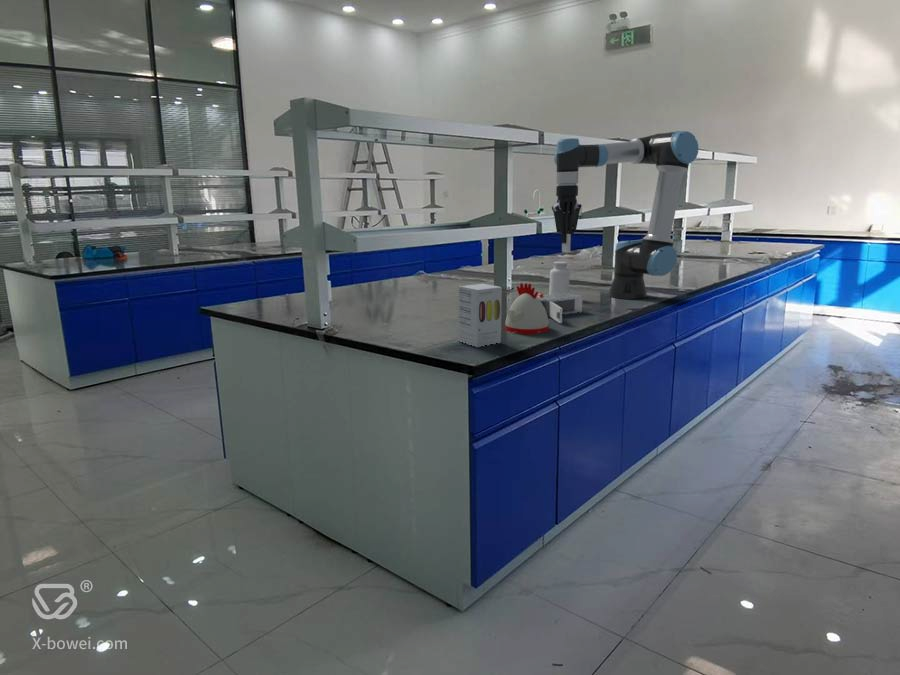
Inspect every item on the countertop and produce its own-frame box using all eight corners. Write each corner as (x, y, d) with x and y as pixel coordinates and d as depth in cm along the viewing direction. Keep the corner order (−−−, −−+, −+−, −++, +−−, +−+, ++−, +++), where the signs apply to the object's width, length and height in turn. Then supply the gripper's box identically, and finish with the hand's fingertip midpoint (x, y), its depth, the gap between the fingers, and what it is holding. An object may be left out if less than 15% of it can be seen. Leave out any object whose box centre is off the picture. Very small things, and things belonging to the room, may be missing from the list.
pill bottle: (568, 300, 243) (570, 263, 240) (548, 300, 245) (549, 263, 241) (569, 297, 251) (570, 261, 247) (549, 296, 252) (550, 260, 249)
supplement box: (476, 348, 173) (476, 289, 169) (457, 341, 180) (457, 285, 176) (502, 343, 179) (502, 286, 174) (482, 337, 186) (482, 282, 182)
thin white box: (562, 323, 202) (563, 307, 200) (557, 323, 201) (558, 308, 200) (551, 316, 214) (552, 301, 212) (547, 316, 214) (547, 301, 212)
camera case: (564, 307, 229) (565, 290, 228) (582, 312, 221) (582, 294, 219) (523, 312, 221) (524, 294, 219) (540, 317, 212) (541, 298, 211)
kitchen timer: (524, 322, 205) (525, 278, 201) (557, 329, 195) (558, 283, 192) (496, 329, 196) (496, 283, 192) (529, 336, 186) (530, 288, 182)
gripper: (572, 184, 219) (571, 249, 225) (546, 185, 211) (545, 253, 217) (588, 184, 213) (586, 251, 219) (561, 185, 206) (560, 254, 211)
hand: (566, 252), depth 218 cm, fingers closed
